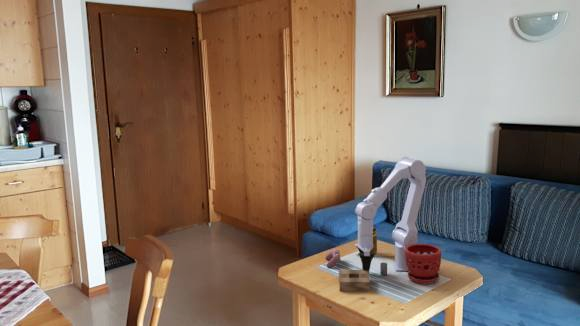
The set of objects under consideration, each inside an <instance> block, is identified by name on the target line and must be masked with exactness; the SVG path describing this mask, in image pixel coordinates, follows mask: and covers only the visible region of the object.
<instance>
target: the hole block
mask: <svg viewBox="0 0 580 326" xmlns="http://www.w3.org/2000/svg"><path fill="white" fill-rule="evenodd" d="M338 284H339V285H338V286H339V287H338V288H339V292H370V291H371V279H370V272H369V273H368V270H366V271H364V270H362V269H339V270H338Z"/></svg>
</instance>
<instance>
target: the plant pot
mask: <svg viewBox="0 0 580 326" xmlns="http://www.w3.org/2000/svg"><path fill="white" fill-rule="evenodd" d="M418 251H419V252H420V254H417V252H418ZM412 252H413V253H412ZM409 259H410V261H409ZM405 261H406V265H407V268H408V271H407V277H408V278H409V279H410V281H413V282H414V283H417V284H418V283H419V284H433V283H435V282H437V281H438V280H439V279H440V273H439V270H440V268H441V262H442V250H441V248H440V247H438V246H436V245H432V244H426V243H417V244H415V245H410V246H407V247H406V248H405Z"/></svg>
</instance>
